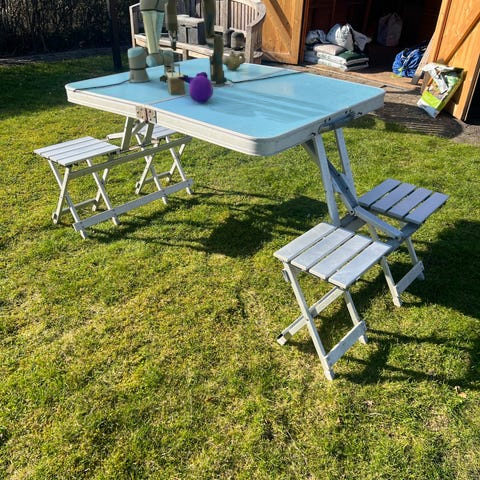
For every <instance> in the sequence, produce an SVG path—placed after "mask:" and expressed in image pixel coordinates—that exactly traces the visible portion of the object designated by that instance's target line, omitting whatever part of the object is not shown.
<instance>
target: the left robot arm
mask: <svg viewBox="0 0 480 480" xmlns="http://www.w3.org/2000/svg"><path fill="white" fill-rule="evenodd" d="M167 2H168V0H139V12H140V14H141V16H142V21H143V28H144V34H145V39H146V40H145V41H146V42H145V43H144V47H143V46H133V47H131V48H129V49H127V57H128V66H129V76H128V79H127V80H123V81H121V82H118V83H111V84H106V85H99V86H89V87H83V88H82V87H81V88H75V89H73V92H72V93H76V91H84V90H91V89H100V88H107V87H113V86H118V85H122V84H125V83H127V82H129V83H133V84H141V83H148V82H150V76H149V74H148V71H147V67H146V66H148V67H149V68H154V67H155V68H156V67H160V66H163V68H164V70H163V72H164V74H162V76H160V77H159V82H162V83H164V84H167V81H168V80H167V73H171V72H172V71H171V64H172V63H175V57H174V51H173V49H164V50H162V48H161V46H160V40H161V36H162V29H163V24H164V23H163V22H164V19H165V4H166V3H167ZM172 70H173V72H176V69H175V67H172ZM181 74H182V75H183V76H184V77H189V75H187V74H183V73H181Z"/></svg>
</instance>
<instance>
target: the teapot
mask: <svg viewBox="0 0 480 480" xmlns="http://www.w3.org/2000/svg"><path fill="white" fill-rule="evenodd" d="M240 58H241V59H240ZM245 62H246V56H245V54H244V52H242V51H241V52H239V53H238V54H236V53H235V51H234V50H231V51H230V53H229V56H225V57H223V66H225V67H226V69H227V70H228V71H236V70H238V69H239V68H240V67H241V65H243V64H244V63H245Z"/></svg>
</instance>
